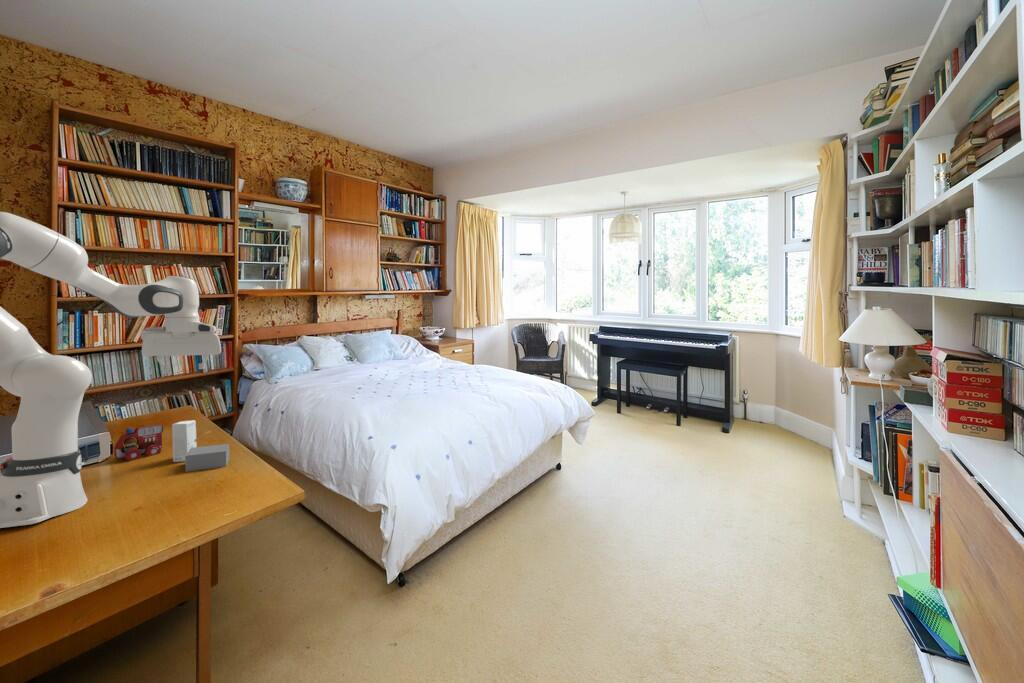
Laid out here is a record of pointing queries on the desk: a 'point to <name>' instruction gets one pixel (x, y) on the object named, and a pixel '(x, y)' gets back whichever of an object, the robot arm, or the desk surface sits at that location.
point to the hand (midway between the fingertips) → (183, 369)
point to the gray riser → (207, 457)
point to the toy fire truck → (139, 442)
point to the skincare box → (183, 439)
